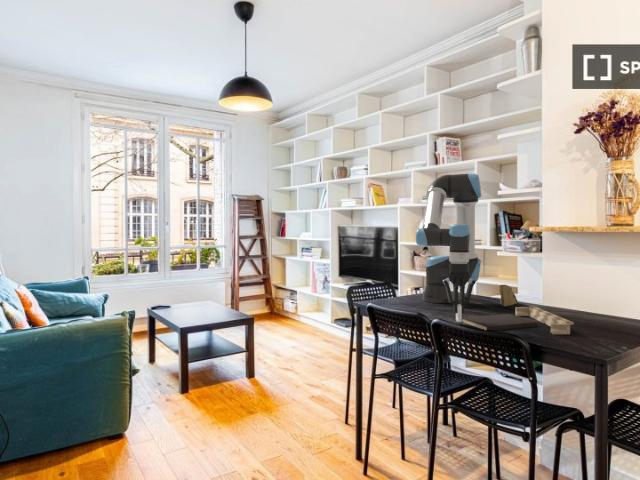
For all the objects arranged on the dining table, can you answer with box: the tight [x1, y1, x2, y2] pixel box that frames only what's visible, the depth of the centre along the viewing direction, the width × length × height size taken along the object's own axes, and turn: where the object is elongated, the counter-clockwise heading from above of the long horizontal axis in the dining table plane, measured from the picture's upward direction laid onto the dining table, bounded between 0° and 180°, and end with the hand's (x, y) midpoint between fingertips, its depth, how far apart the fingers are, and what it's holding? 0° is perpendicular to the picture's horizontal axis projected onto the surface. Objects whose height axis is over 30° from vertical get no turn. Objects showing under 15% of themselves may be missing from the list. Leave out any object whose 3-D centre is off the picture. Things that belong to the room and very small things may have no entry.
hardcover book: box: [462, 313, 538, 332], centre depth 171 cm, size 16×23×2 cm
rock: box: [499, 284, 519, 307], centre depth 210 cm, size 11×9×10 cm
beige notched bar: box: [514, 304, 574, 335], centre depth 171 cm, size 31×8×4 cm, turn 178°
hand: (458, 321), depth 172 cm, fingers closed
